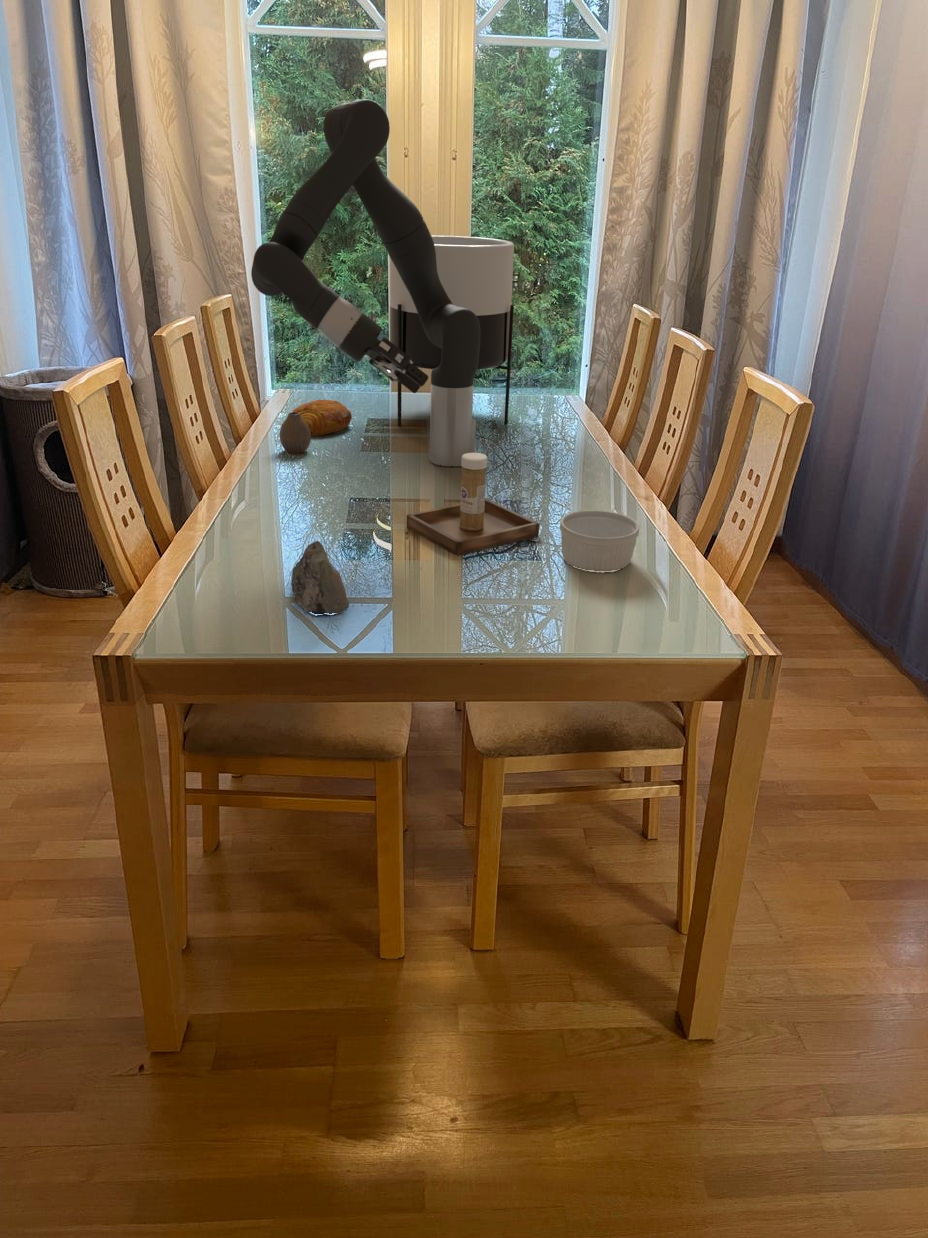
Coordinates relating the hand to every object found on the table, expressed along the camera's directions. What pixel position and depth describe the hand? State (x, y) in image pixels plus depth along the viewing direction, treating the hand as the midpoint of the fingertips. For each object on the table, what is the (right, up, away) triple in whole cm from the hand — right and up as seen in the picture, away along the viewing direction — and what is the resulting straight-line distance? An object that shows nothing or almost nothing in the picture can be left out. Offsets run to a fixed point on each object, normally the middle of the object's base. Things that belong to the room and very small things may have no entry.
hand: (422, 385), depth 169 cm
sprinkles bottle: (+9, -26, -1) cm, 28 cm away
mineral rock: (-14, -40, -28) cm, 51 cm away
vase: (-31, -5, +41) cm, 52 cm away
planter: (+3, +10, +73) cm, 74 cm away
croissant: (-28, +4, +60) cm, 66 cm away
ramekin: (+30, -33, -11) cm, 46 cm away
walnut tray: (+9, -27, -1) cm, 28 cm away
